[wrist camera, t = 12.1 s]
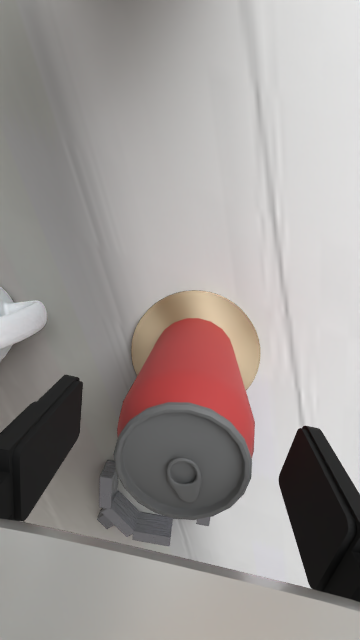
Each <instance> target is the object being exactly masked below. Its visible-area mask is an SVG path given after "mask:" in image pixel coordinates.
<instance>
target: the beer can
mask: <svg viewBox="0 0 360 640" xmlns="http://www.w3.org/2000/svg"><path fill="white" fill-rule="evenodd" d="M254 428H255V421H254V418H253V414H252V411H251V408H250V404H249V401H248V397H247V394H246V390H245V387H244V384H243V380H242V377H241V373H240V370H239V366H238V363H237V360H236V356H235V353H234V349H233V347H232V344H231V341H230V338H229V337H228V336H227V335H226V333H225V332H224V331H223V329H221V328H220V327H218V326H217V325H216V324H214V323H213V322H210V321H207V320H204V319H200V318H186V319H183V320H180V321H177V322H174V323H173V324H171V325H170V326H169V327H167V328H166V329H165V330H164V331H163V332H162V334H161V335H160V337H159V338H158V340H157V342H156V343H155V345H154V347H153V349H152V351H151V352H150V354H149V356H148V358H147V360H146V361H145V363H144V365H143V367H142V369H141V370H140V372H139V374H138V376H137V378H136V379H135V381H134V383H133V385H132V387H131V388H130V390H129V392H128V394H127V396H126V397H125V399H124V401H123V405H122V409H121V413H120V417H119V422H118V427H117V435H118V439H117V443H116V447H115V451H114V460H115V468H116V472H117V474H118V476H119V478H120V480H121V482H122V484H123V486H124V488H125V489H126V490H127V491H128V492H129V493H130V494H131V495H132V496H133V497H134V499H135V500H136V501H137V502H138V503H140V504H141V505H143V506H145V507H146V508H148V509H150V510H151V511H153V512H155V513H158V514H161V515H164V516H167V517H170V518H173V519H188V520H196V519H201V518H206V517H212V516H214V515H216V514H218V513H220V512H222V511H224V510H226V509H228V508H230V507H231V506H232V505H233V504H234V503H235V502H236V501H237V500H238V499H239V498H240V497H241V496H242V495H243V494H244V493H245V490H246V488H247V486H248V484H249V482H250V479H251V468H252V455H253V452H254Z"/></svg>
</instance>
